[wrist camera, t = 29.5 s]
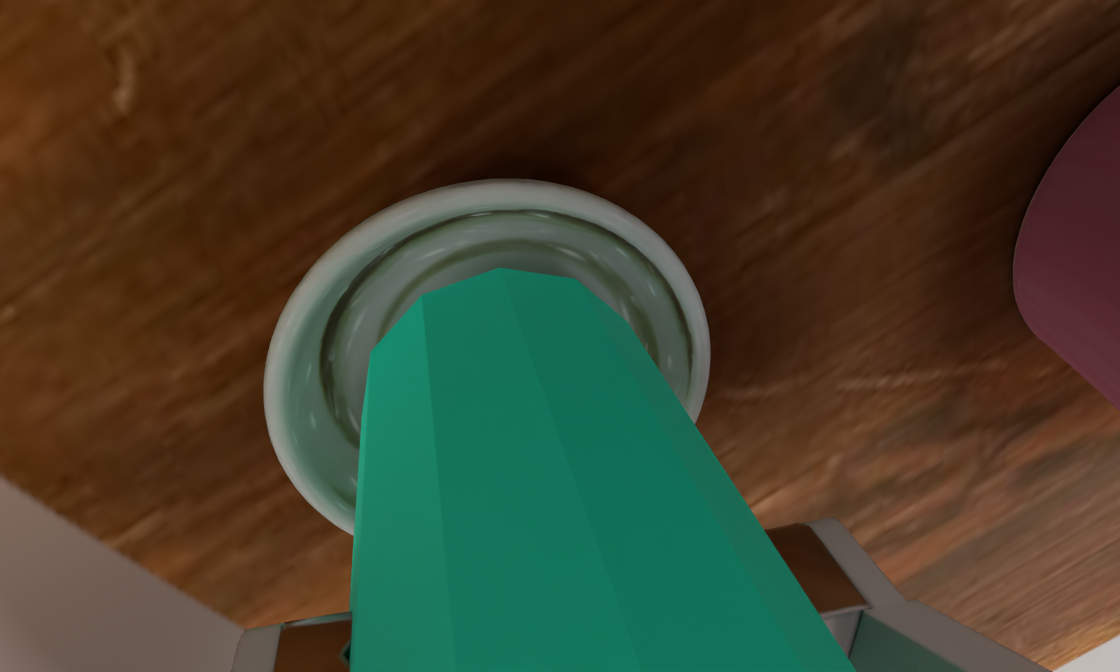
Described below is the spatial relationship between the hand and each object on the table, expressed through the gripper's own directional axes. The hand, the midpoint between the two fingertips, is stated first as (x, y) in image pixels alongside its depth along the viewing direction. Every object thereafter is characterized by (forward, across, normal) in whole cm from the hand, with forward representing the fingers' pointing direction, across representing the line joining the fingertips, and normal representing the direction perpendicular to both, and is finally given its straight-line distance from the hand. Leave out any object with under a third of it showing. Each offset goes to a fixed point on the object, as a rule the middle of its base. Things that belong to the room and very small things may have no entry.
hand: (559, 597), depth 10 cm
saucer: (+8, 0, 0) cm, 8 cm away
